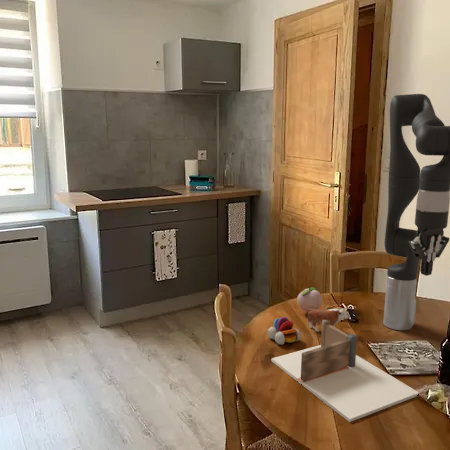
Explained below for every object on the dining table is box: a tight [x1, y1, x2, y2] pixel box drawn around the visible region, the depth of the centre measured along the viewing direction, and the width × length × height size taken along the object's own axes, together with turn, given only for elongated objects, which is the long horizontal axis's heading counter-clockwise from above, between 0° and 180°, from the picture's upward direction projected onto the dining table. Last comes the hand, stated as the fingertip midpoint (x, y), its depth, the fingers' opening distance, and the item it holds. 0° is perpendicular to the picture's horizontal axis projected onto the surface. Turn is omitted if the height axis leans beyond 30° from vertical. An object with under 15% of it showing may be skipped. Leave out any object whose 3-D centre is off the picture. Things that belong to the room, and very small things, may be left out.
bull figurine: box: [306, 307, 350, 333], centre depth 155 cm, size 4×13×8 cm, turn 79°
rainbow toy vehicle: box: [267, 316, 302, 346], centre depth 149 cm, size 8×10×7 cm
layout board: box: [270, 320, 420, 423], centre depth 127 cm, size 23×32×10 cm
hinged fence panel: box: [301, 339, 350, 381], centre depth 127 cm, size 16×1×8 cm, turn 121°
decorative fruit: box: [296, 286, 323, 313], centre depth 169 cm, size 9×8×10 cm
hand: (425, 274), depth 122 cm, fingers closed
